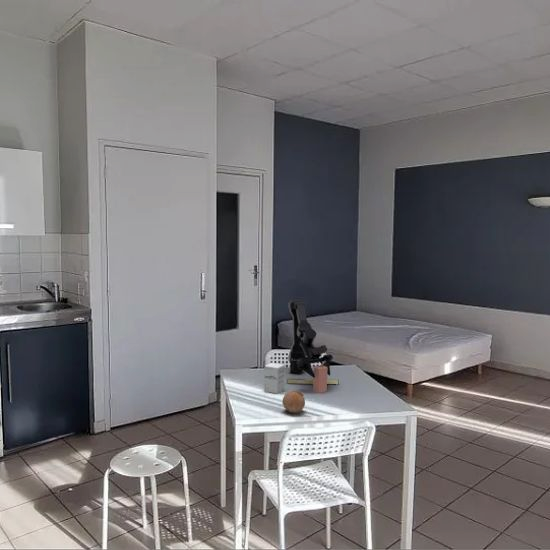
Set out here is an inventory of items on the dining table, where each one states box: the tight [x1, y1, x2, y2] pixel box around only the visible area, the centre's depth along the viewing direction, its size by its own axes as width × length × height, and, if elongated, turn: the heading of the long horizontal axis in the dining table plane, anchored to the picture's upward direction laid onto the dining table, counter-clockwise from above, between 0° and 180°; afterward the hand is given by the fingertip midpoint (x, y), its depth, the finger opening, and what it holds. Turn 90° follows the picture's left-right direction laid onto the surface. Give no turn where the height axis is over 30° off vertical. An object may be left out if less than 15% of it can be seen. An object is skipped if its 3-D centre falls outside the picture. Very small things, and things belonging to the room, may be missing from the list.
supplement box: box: [263, 362, 286, 395], centre depth 245 cm, size 7×7×13 cm
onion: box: [282, 390, 306, 414], centre depth 217 cm, size 10×9×10 cm
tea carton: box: [312, 364, 328, 394], centre depth 246 cm, size 4×5×12 cm
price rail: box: [286, 378, 340, 386], centre depth 259 cm, size 3×26×2 cm, turn 90°
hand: (322, 376), depth 245 cm, fingers open, 9 cm apart
